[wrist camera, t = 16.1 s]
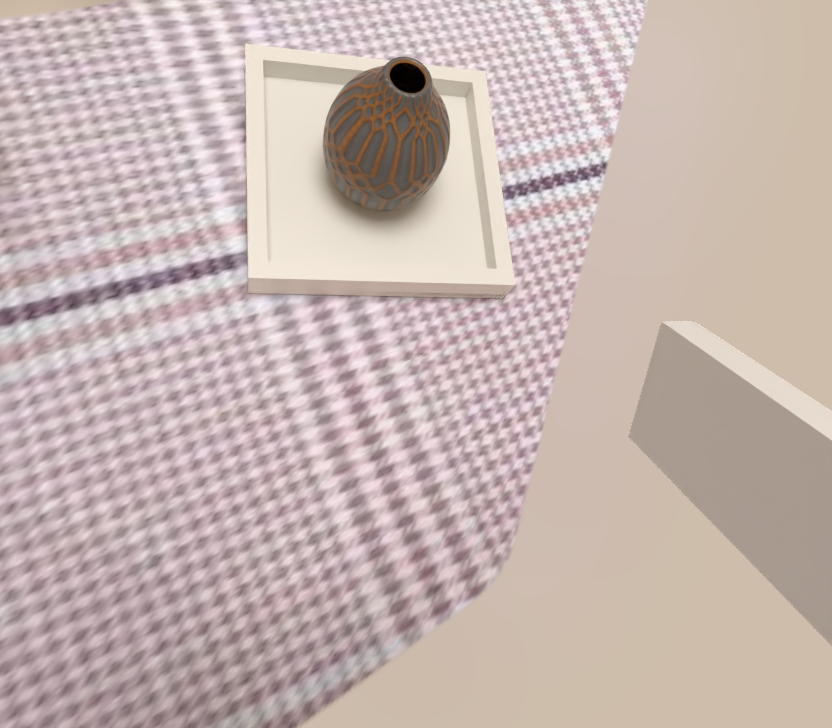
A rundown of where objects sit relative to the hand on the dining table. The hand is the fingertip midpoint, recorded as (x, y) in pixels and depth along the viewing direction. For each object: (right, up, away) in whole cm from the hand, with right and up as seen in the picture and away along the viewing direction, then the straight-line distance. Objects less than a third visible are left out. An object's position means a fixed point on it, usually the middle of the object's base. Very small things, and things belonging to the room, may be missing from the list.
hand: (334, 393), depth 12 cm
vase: (-1, +12, +28) cm, 31 cm away
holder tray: (-1, +12, +29) cm, 31 cm away
